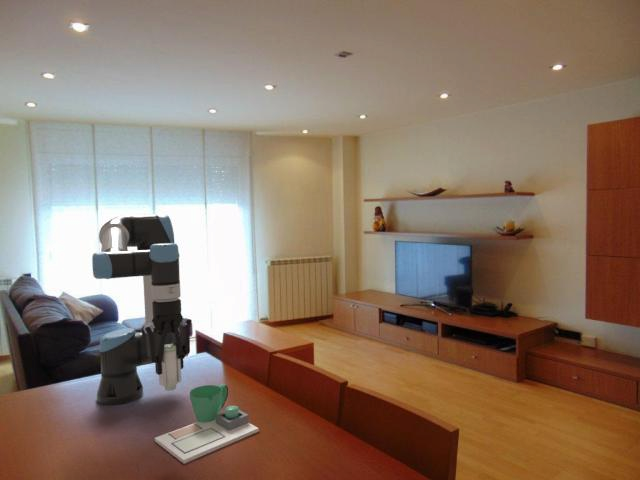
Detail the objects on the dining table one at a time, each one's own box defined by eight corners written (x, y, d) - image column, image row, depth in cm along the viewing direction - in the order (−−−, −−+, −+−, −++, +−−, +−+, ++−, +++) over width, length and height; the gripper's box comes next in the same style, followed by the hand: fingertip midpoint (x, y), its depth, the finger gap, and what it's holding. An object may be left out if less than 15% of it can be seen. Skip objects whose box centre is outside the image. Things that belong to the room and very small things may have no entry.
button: (222, 418, 140) (222, 408, 140) (233, 413, 143) (233, 404, 143) (230, 422, 138) (229, 412, 137) (241, 417, 140) (241, 408, 140)
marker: (160, 388, 129) (158, 346, 129) (174, 385, 132) (172, 343, 131) (167, 392, 126) (165, 348, 126) (180, 388, 129) (178, 345, 128)
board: (154, 441, 132) (154, 429, 132) (226, 414, 149) (226, 403, 149) (183, 463, 120) (183, 450, 120) (258, 431, 137) (258, 419, 137)
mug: (208, 432, 138) (207, 399, 137) (183, 425, 142) (182, 394, 142) (238, 412, 151) (237, 382, 150) (214, 407, 155) (214, 378, 155)
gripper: (141, 305, 119) (146, 394, 120) (200, 296, 131) (204, 378, 132) (130, 302, 125) (134, 387, 126) (188, 294, 136) (191, 372, 137)
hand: (170, 382), depth 129 cm, fingers closed on marker, 4 cm apart
